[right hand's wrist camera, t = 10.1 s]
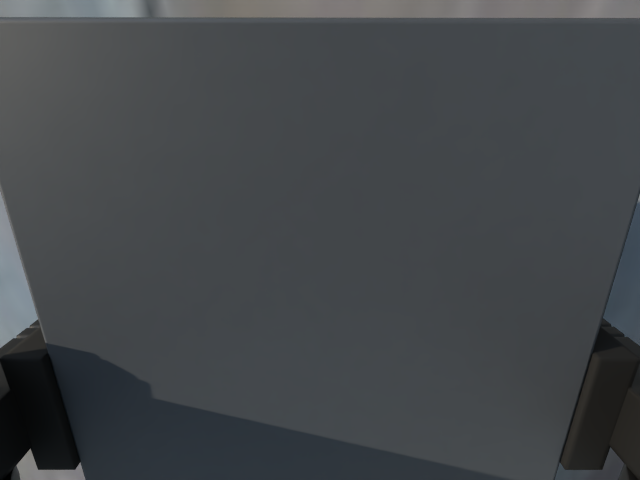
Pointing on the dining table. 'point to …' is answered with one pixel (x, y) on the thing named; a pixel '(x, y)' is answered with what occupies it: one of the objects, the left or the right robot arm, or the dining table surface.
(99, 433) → the wide beam
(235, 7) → the dining table surface
